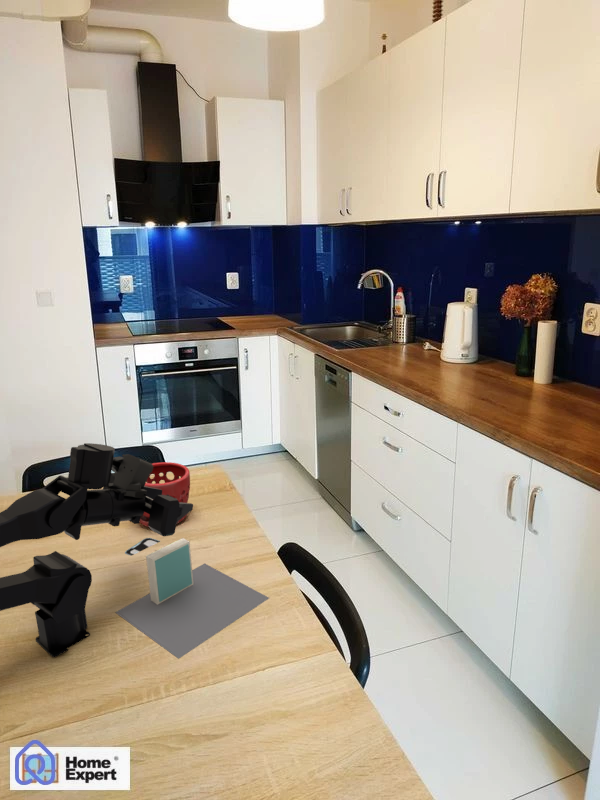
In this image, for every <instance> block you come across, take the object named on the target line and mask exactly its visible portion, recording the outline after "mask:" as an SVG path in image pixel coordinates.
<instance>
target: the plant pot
mask: <svg viewBox="0 0 600 800" xmlns="http://www.w3.org/2000/svg"><path fill="white" fill-rule="evenodd" d="M151 464H152V465H153V471H152V473H150V475H149V477H148V479H147V481H146V483H145V485H144V486H147V487H152V488H157V489H161V490H162V495H170V496H172V497H174V498H176V499H177V500H178V501H179V502H182V503H188V501H189V497H190V489H191V473H190V472H191V471H190V469H189V468H188V467H187V466H186V465H183V464H181V463H177V462H169V461H167V462H165V461H164V462H153V463H151ZM169 472H170V473H172V474H173V478H172V479H170V478H168V476H167V474H168V473H169ZM161 473H162V474H163V475H161V476H160V474H161ZM151 475H153V476H154V477H152V478H151ZM161 481H163V482H161ZM153 482H155V483H153ZM160 482H161V483H160ZM149 516H150V514H148V513H146V512H144V514H143V515H142V516H141V518H140V523H139V524H141V525H142V526H145V527H149V526H148V522H149ZM187 516H188V514H187V515H185V516H184V517H183V518H182V519H181V520H179V521H178V522H177V523H176V525H177V524H179V523H181V522H182V521H184V519H185V518H186V517H187Z"/></svg>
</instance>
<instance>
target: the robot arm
mask: <svg viewBox="0 0 600 800" xmlns="http://www.w3.org/2000/svg"><path fill="white" fill-rule="evenodd" d="M115 449H116V448H115V447H113V446H111V445H106V444H102V443H99V444H98V443H83V444H78V445H77V446H72V447H71V448H70V455H69V456H70V459H69V460H70V461H69V471H68V475H67V477H65V476H63V475H61V474H60V475H58V476H56V478H54V479H53V480H52V481H50V482H48V484H46V485H44V487H42V488H39V489H35V490H33V491H31V492H29V493H27V494H25V495H23V496H21V497H20V498H17V499H16V500H15V501H14V502H12V503H11V504H10V505H9V506H8V507H7V508H6V509H4V510H3V511H0V548H1V547H4V546H8V545H9V544H11V543H15V542H18V541H24V540H25V541H28V540H40V539H44V538H49V537H52V536H53V537H54V536H56V535H59V534H62V533H63V532H64V534H65V535H67V536H68V537H70V538H72V539H74V540H75V541H79V540H80V538H81V531H82V527H86V526H93V525H94V526H95V525H103V524H108V525H110V526H112V527H119V526H120V522H127V521H129V522H130V523H132V524H134V525H137V524H141V523H140V518H141V516H142V515H143V514H144V512H146V513H148V514H150V516H149V522H148V526H149V528H148V529H150V530H151V531H152V532H154V533H156V534H157V535H160V536H162V537H169V536H173V535H174V534H175V533H176V527H177V524H178V523H177V522H178V521H179V520H181V519H182V518H183V517H184V516H185V515H187V516H188V514H189V513H190V512H192V511H193V509H194V504H193V503H188V502H187V503H182V502H179V501H178V500H177V499H176V498H174V497H172V496H170V495H162V490H161V489H157V488H152V487H147V486H144V485H145V483H147V482H146V481H147V479H148V477H149V475H150V473H152V471H153V465H152V464H153V463H151V462H148V461H147V460H144V459H142V458H139V457H138V456H137V457H136V456H135V455H133V454H128V453H126V454H125V453H124V454H122V455H121V456H115V457H114V455H115ZM150 476H151V475H150ZM60 492H61V493H64V494H65V495H67V496H68V497H67V498H65V497H63V496H61V495H59V494H60ZM176 523H177V524H176ZM148 526H147V527H148ZM32 559H33V565H31V566H30V567H29V568H27V569H26V570H25V571H23V572H20V573H15V574H10V575H6V576H2V577H1V576H0V612H1V611H4V610H8V609H12V608H16V607H19V606H25V605H27V604H32V605H33V606H35V607H36V608H38V609H37V610H36V611H34V616H35V621H36V625H37V631H38V636H36V637H35V642H36V643H37V644H38V645H39V646H40V647H41V648H42V649H43V650H44V651H46V653H47V654H49V655H50V656H51V657H52V658H56V657H58V656H60V655H62V654H63V653H66V652H68V651H69V648H71V647H73V646H74V645H76V644H78V643H80V642H82V641H83V640H85V639H87V638H88V637H90V636H91V632H89V631H88V630H87V629H88V626H89V625H88V622H87V614H86V613H87V612H86V605H87V602H88V601H87V600H88V595H89V590H90V587H91V584H92V581H93V575H92V573H91V570H89V569H88V567H86V566H84V565H83V564H81V563H79V562H78V561H76V560H74V559H73V558H71V557H70V556H68V555H66V554H63V553H60V552H58V551H57V550H55V551H53V552H51V553H48V554H45V555H35V556H33V558H32Z"/></svg>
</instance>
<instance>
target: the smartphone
mask: <svg viewBox="0 0 600 800" xmlns="http://www.w3.org/2000/svg"><path fill="white" fill-rule="evenodd" d="M160 542H161V540H158V539H154V538H152V537H146V538H143V539H142V540H140V541H139V542H138V543H136V544H134V545H133V546H131V547H130V548H128V549H127V550H125V551H124V554H125V555H128V556H134V555H136V554H138V553H140V552H142V551H144V550H146V549H148V548H151V547H153V546H154V545H156V544H158V543H160Z"/></svg>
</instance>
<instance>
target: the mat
mask: <svg viewBox="0 0 600 800" xmlns="http://www.w3.org/2000/svg"><path fill="white" fill-rule="evenodd" d="M192 574H193V585H191V586H190V587H188V588H186V589H184V590H183V591H181V592H179V593H177V594H176V595H174V596H172V597H170V598H169V599H167V600H165V601H163V602H162V603H160V604H158V605H157V604H156V603H154V602H153V601H151V596H150V593H148V594H146V595H145V596H142V597H141V598H138V599H137V600H135V601H133V602H131V603H130V604H128V605H125V606H124V607H122V608H121V609H118V610H117V611H115V612H114V613H115V614H117V615H118V616H119V617H121V618H123V620H125V621H126V622H128V623H129V624H130V625H132V626H133V627H134V628H136V629H137V630H139V631H140V632H141V633H142V634H144V635H145V636H147V637H148V638H150V639H151V640H152V641H154V642H155V643H156V644H158V645H159V646H160V647H162V648H163V649H164V650H166V651H167V652H169V654H171V655H172V656H174V657H175V658H177V659H178V660H179V659H181V658H182V657H184V656H185V655H186V654H188V653H190V652H191V651H193V650H194V649H196V648H197V647H199V646H200V645H201V644H203V643H205V642H206V641H208V640H209V639H210V638H212V637H214V636H215V635H216V634H218V633H219V632H221V631H222V630H224V629H226V628H227V627H228V626H230V625H232V624H233V623H234V622H236V621H238V620H239V619H241V618H243V616H246V614H248V613H249V612H251V611H253V609H255V608H257V607H259V606H260V605H261V604H263V603H264V602H265V601H267V600H269V599H270V597H269V596H267V595H265V594H263V593H261V592H259V591H257V590H255V589H253V588H252V587H251V586H248V585H246V584H244V583H243V582H240V581H239V580H237V579H236V578H235V579H234V578H233V577H231V576H229V575H228V574H225V573H223V572H221V571H219V569H216V568H214V567H212V566H210V565H208V564H206V563H203V564H201V565H199V566H197V567H195V568H194V569H192Z"/></svg>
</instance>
